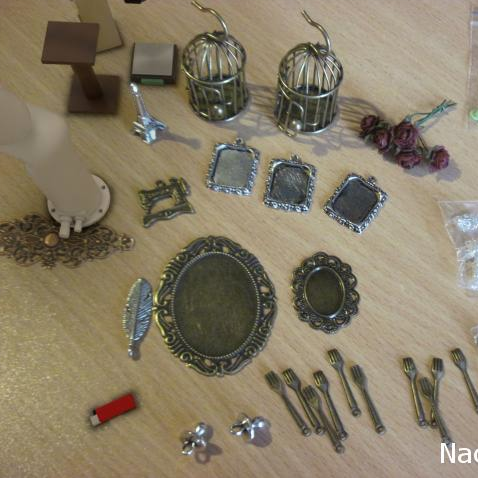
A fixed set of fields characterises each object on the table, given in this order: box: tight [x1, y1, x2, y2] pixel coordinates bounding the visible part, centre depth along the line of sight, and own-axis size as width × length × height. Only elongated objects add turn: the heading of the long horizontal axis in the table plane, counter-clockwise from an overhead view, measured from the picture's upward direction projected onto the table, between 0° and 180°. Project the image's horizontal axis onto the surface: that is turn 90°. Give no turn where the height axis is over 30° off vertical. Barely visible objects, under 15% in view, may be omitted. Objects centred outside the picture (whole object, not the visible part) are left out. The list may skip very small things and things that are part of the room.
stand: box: [40, 20, 120, 115], centre depth 119 cm, size 10×10×18 cm
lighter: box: [89, 392, 137, 427], centre depth 103 cm, size 3×1×8 cm
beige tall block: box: [69, 0, 123, 53], centre depth 124 cm, size 8×7×21 cm
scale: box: [129, 42, 178, 86], centre depth 131 cm, size 11×10×3 cm
